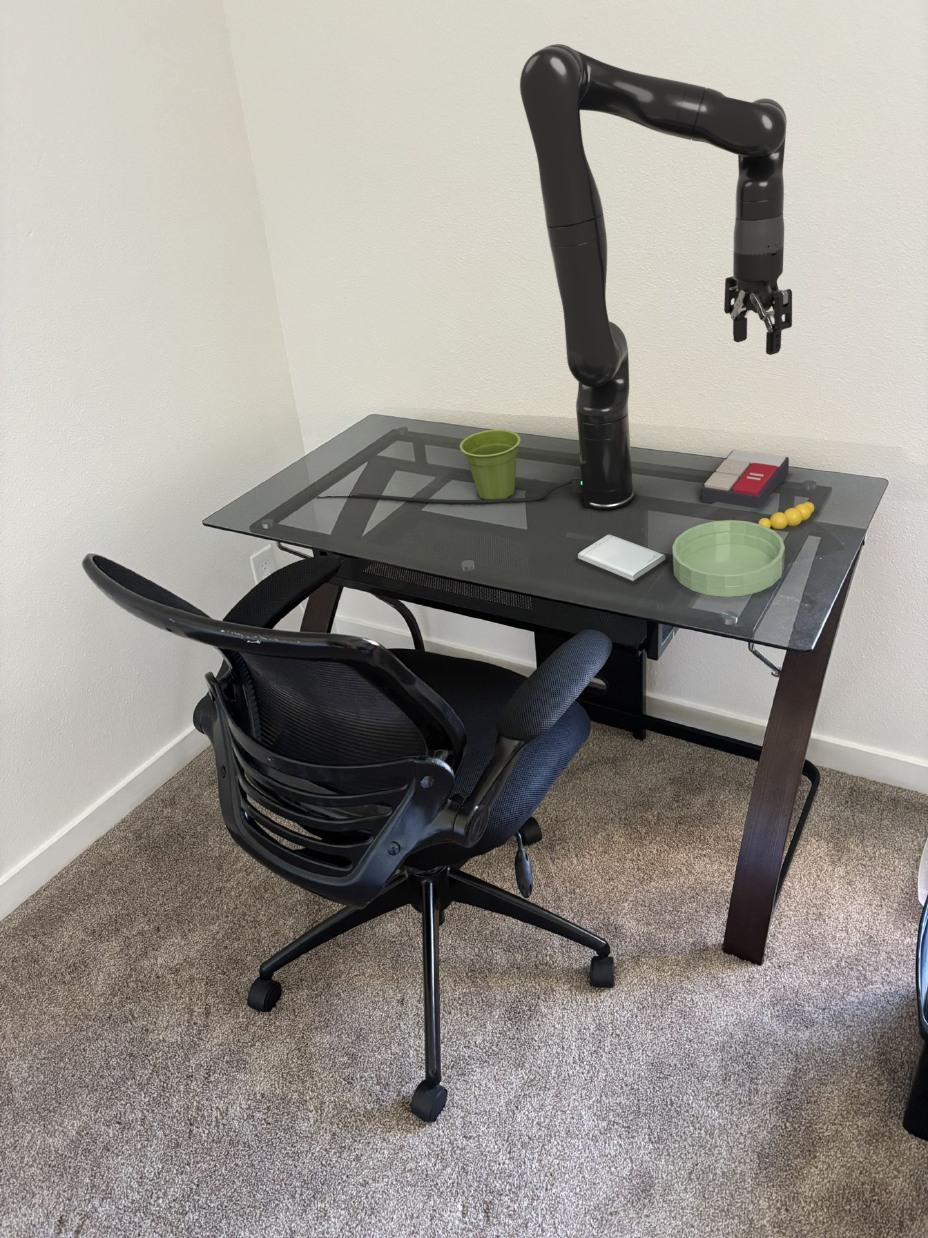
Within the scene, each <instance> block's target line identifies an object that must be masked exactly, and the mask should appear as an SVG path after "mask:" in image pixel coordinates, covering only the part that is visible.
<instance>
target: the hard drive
mask: <svg viewBox="0 0 928 1238" xmlns="http://www.w3.org/2000/svg"><path fill="white" fill-rule="evenodd" d="M577 559H579V560H582V561H583V562H587V563H589V564H591V565H594V566H596V567H598V568H601V569H603V570H606V571H609V572H611V573H613V574H615V575H618V576H620V577H623V578H625V579H627V580H630V581H632V582H635V580H637V579H638V578H640V577H642V576H643V575H645V574H646V573H648V572H649V571H650V570H652V569H654V568H655V567H656V566H658V565H659V564H661V563H663V562H664V561H665V560H666V554H664V553H660V552H658V551H655V550H653V549H650V548H647V547H645V546H643V545H642V546H641V545H639V544H637V543H634V542H631V541H629V540H626V539H623V538H621V537H619V536H614V535H612V534H607V535H605V536H603V537H602V538H600V539H599V540H597V541H595V542H594V543H592V544H590V545H589V546H587V547H586V548H584V549H582V550H581V551H579V553H578V554H577Z"/></svg>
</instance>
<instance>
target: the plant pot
mask: <svg viewBox="0 0 928 1238" xmlns="http://www.w3.org/2000/svg"><path fill="white" fill-rule="evenodd" d="M521 439H522V438H521V436H520V435H519V434H518V433H517V432H515V431H511V430H509V429H487V430H483V431H479V432H476V433H473V434H471V435H468V436H467V437H465V438H464V439H463V440H461V442H460V443H459V449H460V451H461V452H462V453H463V454H464V457H465V460H466V462H467V463H468V466H469V469H470V473H471V475H472V478H473V482H474V484H475V487H476V491H477V494H478V496H479V498H480V500H486V499H505V498H509V497H511V496H513V495H514V493H515V491H516V490H515V488H516V473H517V472H516V471H517V455H518V452H519V445H520V444H521Z"/></svg>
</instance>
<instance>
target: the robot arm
mask: <svg viewBox="0 0 928 1238" xmlns="http://www.w3.org/2000/svg"><path fill="white" fill-rule="evenodd" d="M519 92H520V98H521V103H522V105H523V110H524V113H525V116H526V120H527V123H528V127H529V130H530V131H529V132H530V135H531V138H532V142H533V145H534V150H535V154H536V159H537V164H538V174H539V182H540V183H539V184H540V191H541V198H542V199H541V200H542V206H543V211H544V220H545V225H546V232H547V238H548V243H549V244H548V245H549V249H550V253H551V257H552V262H553V267H554V273H555V278H556V282H557V287H558V292H559V297H560V301H561V306H562V312H563V321H564V322H563V323H564V337H565V352H566V361H567V366H568V369H569V372H570V374H571V375H572V376H573V378H574V379H575V380H576V381H577V383H578V387H577V395H576V400H575V411H576V422H577V435H578V444H579V455H580V457H579V465H580V467H579V468H574V470H573V473H572V475H571V478H570V479H568V480H565V481H562V482H559V483H556V484H553V485H552V486H551V487H549V488H548V489H547V490H546V491H545V492H544V493H543V494H540V495H537V496H534V497H520V498H519V497H511V498H510V497H507V498H505V499H486V500H485V499H441V498H423V497H411V496H410V497H409V496H408V497H407V496H397V495H396V496H395V495H384V494H373V493H372V494H371V493H370V494H369V493H357V494H358V495H352V497H351V498H359V499H360V498H363V499H377V500H378V499H379V500H392V501H400V502H401V501H402V502H413V503H425V504H426V503H427V504H448V505H454V504H455V505H467V504H468V505H473V504H474V505H475V504H476V505H477V504H479V505H480V504H481V505H482V504H498V503H499V504H501V503H502V504H503V503H530V502H531V503H532V502H536V501H537V502H538V501H541V500H544V499H546V498H547V497H548V496H549V495H550V494H551V493H552V492H553V491H555V490H558V489H559V488H561V487H565V486H568V485H571V492H572V493H573V494H574V493H575V494H576V493H577V494H579V493H582V498H583V508H585V509H586V508H589V509H593V510H597V511H598V510H600V511H607V510H608V511H609V510H610V511H611V510H616V509H620V508H624V507H625V506H627V505H629V504H631V502H632V501H633V500H634V498H635V493H634V492H635V491H634V484H633V468H632V454H631V453H632V452H631V434H630V420H629V419H630V418H629V397H630V365H629V364H630V361H629V346H628V342H627V338H626V335H625V333H624V332H623V330H622V328H621V327H619V325H617V324H616V323H614V322H612V321H610V320H609V314H608V308H607V298H606V297H607V294H606V293H607V292H606V291H607V290H606V289H607V276H608V275H607V273H608V236H607V230H606V221H605V215H604V214H605V213H604V207H603V203H602V199H601V195H600V191H599V188H598V185H597V182H596V179H595V177H594V175H593V172H592V169H591V165H590V164H589V161H588V158H587V154H586V151H585V146H584V141H583V133H582V132H583V131H582V123H581V121H582V120H581V111H587V112H598V113H603V114H608V115H611V116H615V117H619V118H622V119H625V120H626V121H630V122H632V123H634V124H637V125H640V126H642V127H644V128H646V129H649V130H651V131H655V132H657V133H660V134H663V135H667V136H672V137H675V138H680V139H684V140H688V141H692V142H699V143H705V144H708V145H710V146H713V147H716V148H718V149H721V150H723V151H726V152H728V153H731V154H734V155H737V166H738V167H737V169H738V175H737V180H736V186H735V187H736V188H735V209H734V210H735V211H734V212H735V218H734V226H733V253H732V254H733V259H732V260H733V261H732V266H733V267H732V268H733V269H732V275H731V276H729V277H726V278H725V280H724V281H725V282H724V305H723V307H724V308H723V311H724V313H725V314H726V315H728V314H729V316H730V318H731V320H732V336H733V342H735V343H741V342H745V341H746V340H747V338H748V317H747V316H748V314H749V312H751V311H752V312H753V313H754V314H757V316H758V318H759V320H760V321H761V322H763V324H764V326H765V328H766V331H767V332H766V334H765V335H766V337H765V354H766V355H769V356H772V355H776V354H778V353H779V352H780V351H781V349H782V332H783V330H787V329H790V328H792V326H793V291H792V289H791V288H787V289H784V290H783V289H779V286H778V279H779V278H780V277H781V276H782V275H783V272H784V252H785V251H784V249H785V248H784V247H785V220H784V207H785V206H784V205H785V204H784V203H785V202H784V201H785V181H784V160H785V149H786V136H787V123H788V122H787V114H786V112H785V109H784V108H783V106H782V105H781V104H780V103H779V102H778V101H776V100H774V99H771V98H759V99H756V100H754V101H747V100H743V99H739V98H733V97H729V96H726V95H725V94H724V93H722V92H721V91H719V90H716V89H714V88H711V87H706V86H701V85H698V84H693V83H688V82H684V81H679V80H675V79H669V78H664V77H658V76H654V75H648V74H644V73H639V72H635V71H631V70H627V69H624V68H621V67H619V66H615V65H612V64H609V63H606V62H603V61H601V60H599V59H597V58H594V57H592V56H590V55H587V54H585V53H583V52H581V51H579V50H577V49H574V48H572V47H570V46H569V45H565V44H563V43H556V44H550V45H547V46H545V47H543V48H540V49H538V50H537V51H536V52H534V53H532V54H531V55H530V57H529V58H528V59H527V60H526V61H525V63H524V65H523V67H522V69H521V73H520V78H519ZM732 300H733V303H732ZM770 309H772V310H770ZM769 310H770V311H769ZM783 315H784V320H783ZM772 318H773V320H772ZM773 321H774V322H773ZM349 496H350V495H349ZM353 496H354V497H353Z"/></svg>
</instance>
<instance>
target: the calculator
mask: <svg viewBox="0 0 928 1238" xmlns="http://www.w3.org/2000/svg"><path fill="white" fill-rule="evenodd" d="M789 466H790V458H789V457H788V456H785V455H779V454H771V453H764V452H755V451H747V450H740V449H733V450H731V451H730V452H729V454H728V455H727V456H726V457H725V458H724V459H723V461H722V462H721V463H720V464H719V465H718V467H717V468H716V469H715V470H714V471H713V472H712V474H711V475H710V476H709V477H708V479H707V480H705V482H704V483H703V484H702V485H701V487H700V497H701V498H700V499H701V502H703V503H708V504H715V503H722V504H727V505H733V506H740V507H746V508H751V509H761V507H762V506H763V505H764V504H765V502H767V500H768V499H769V498H770V497H771V495H773V493H774V492H775V490H777V488H778V486H779V485H780V484H782V483H783V482H784V481H785V480H786V479H787V477H788V476H789V472H790V471H789V469H790V467H789Z"/></svg>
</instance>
